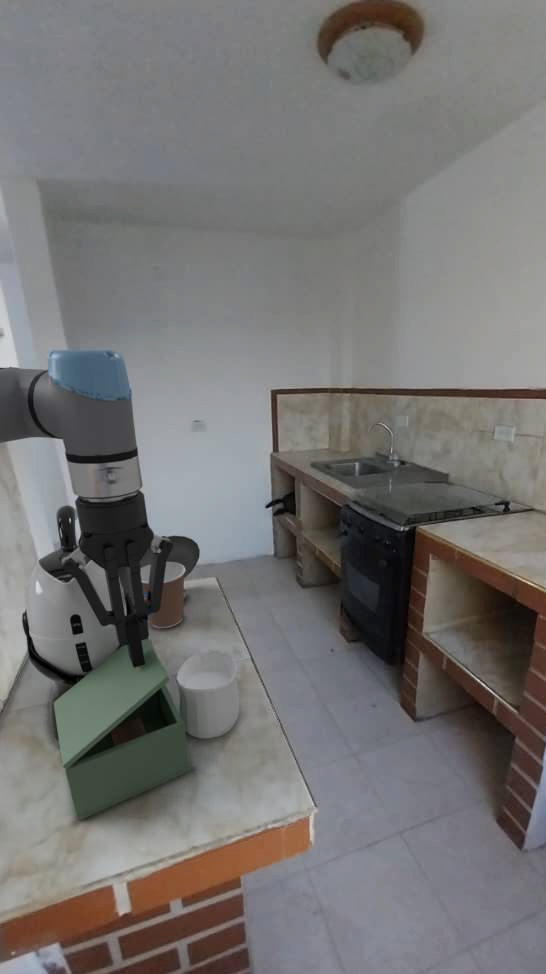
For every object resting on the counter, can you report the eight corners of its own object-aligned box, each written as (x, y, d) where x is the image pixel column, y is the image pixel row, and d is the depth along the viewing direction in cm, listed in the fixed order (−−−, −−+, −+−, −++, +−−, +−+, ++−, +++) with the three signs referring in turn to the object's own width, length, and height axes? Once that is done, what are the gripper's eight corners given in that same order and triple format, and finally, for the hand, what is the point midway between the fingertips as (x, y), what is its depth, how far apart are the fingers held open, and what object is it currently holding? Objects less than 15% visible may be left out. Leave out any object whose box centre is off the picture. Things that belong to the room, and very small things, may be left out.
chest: (165, 715, 75) (159, 672, 72) (190, 771, 65) (184, 723, 62) (67, 752, 68) (55, 706, 65) (78, 821, 58) (65, 770, 55)
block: (119, 773, 64) (114, 749, 62) (113, 751, 67) (108, 728, 66) (151, 759, 66) (147, 736, 64) (144, 739, 70) (140, 717, 68)
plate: (168, 528, 95) (164, 522, 96) (93, 591, 96) (90, 584, 97) (217, 557, 114) (214, 551, 115) (154, 609, 115) (151, 603, 116)
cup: (187, 749, 69) (181, 698, 65) (175, 706, 77) (169, 658, 74) (248, 730, 72) (245, 680, 69) (230, 690, 81) (227, 644, 77)
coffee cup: (138, 614, 104) (131, 566, 99) (184, 604, 108) (179, 557, 104) (146, 637, 95) (138, 586, 91) (195, 625, 100) (190, 576, 95)
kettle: (51, 665, 87) (10, 505, 75) (137, 644, 93) (113, 494, 81) (44, 760, 67) (-13, 562, 55) (155, 726, 73) (127, 541, 61)
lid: (146, 632, 68) (142, 628, 68) (170, 680, 58) (166, 676, 58) (57, 705, 65) (53, 702, 65) (66, 769, 55) (62, 766, 55)
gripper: (48, 511, 47) (89, 694, 56) (174, 493, 53) (192, 660, 62) (44, 493, 53) (81, 661, 62) (157, 478, 59) (176, 633, 68)
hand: (137, 660), depth 62 cm, fingers closed
